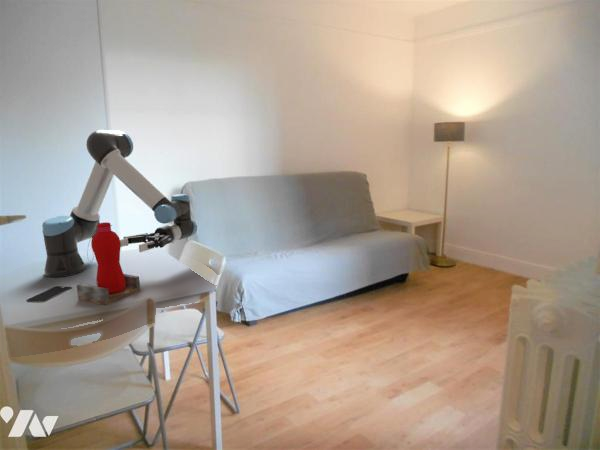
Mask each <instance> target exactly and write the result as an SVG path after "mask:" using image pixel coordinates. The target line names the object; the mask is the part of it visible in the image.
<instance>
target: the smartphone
mask: <svg viewBox="0 0 600 450" xmlns="http://www.w3.org/2000/svg"><path fill="white" fill-rule="evenodd" d="M71 289H73V287H72V286H61V285H60V286H59V285H57V286H54V287H51V288H49V289H47V290H45V291H42V292H39V293H38V294H36V295H33V296H32V297H30V298H28V299H26V300H25V301H27V303H39V302H40V303H41V302H42V303H45V302H48V301H50V300H51V299H54V298H55V297H58V296H60V295H61V294H64V293H65V292H67V291H70V290H71Z"/></svg>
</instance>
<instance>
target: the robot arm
mask: <svg viewBox="0 0 600 450" xmlns="http://www.w3.org/2000/svg"><path fill="white" fill-rule="evenodd" d="M86 149H87V150H86V151H87V152H88V154H89V155H90V157H91V158H92V159H93V160H94V161H95V162H94V165H93V167H92V169H91V172H90V175H89V177H88V180H87V183H86V185H85V188H84V190H83V192H82V194H81V198H80V199H79V202H78V204H77V206H75V207H73V208H72V210H71V212H70V214H69V215H58V216H56V217H50V218H48V219H46V220H44V221H43V223H42V235H43V242H44V246H45V251H46V261H45V264H44V270H43V271H44V276H45V277H49V278H61V277H68V276H72V275H75V274H79V273H81V272H83V271H84V270H85V269H86V265H85V262H84V259H82V256H81V255H80V253H79V250H78V243H81V242H83V241H86V240H89V239H90V240H91V238H92V236H93V235H94V234H95V233H96V232H97V231H96V230H97V225H98V224H100V223H101V222H100V218H101V216H100V214H99V212H100V208H101V207H102V204H103V202H104V199H105V197H106V194H107V192H108V189H109V187H110V185H111V182H112V180H113V177H116V178H117V179H118V180H119V181H121V182H122V184H123V185H125V186H126V188H128V189H129V190H130V191H131V192H132V193H133V194H134V195H135V196H137V197H138V198H139V199H140V200H141V201H142V202H143V203H144V204H145V205H146V206H147V207H148V208H149V209H151V211H153V212H154V213H153V215H154V218H155V220H156V221H157V222H158V223H160V224H162V226H160V227H157V228H156V229H155V230H154V232H150V233H148V232H146V233H140V234H134V235H128V236H123V238H121V239H120V243H121V247H120V248H122V247H128V246H129V245H131V244H138V243H141V244H138V251H139V253H144V252H146V251H149V250H153V249H155V248H156V249H158V248H161V249H162V248H164V247H165V246H166V245H168V244H174V243H175V242H177V241H180V240H183V239H186V238H187V239H188V238H190V237H192V236H194V235H195V234H196V233H197V230H198V225H197V224H196V222H195V220H193V219H192V217H191V215H192V214H191V202H190V196H189V194H186V193H177V194H172V195H171V201H170V200H169V198H167V197H166V196H165V195H164V194H163V193H162V192H161V191H160V190H159V189H158V188H156V187H155V186H154V185H153V183H151V182H150V181H149V180H148V179H147V178H146V177H145V176H144V175H143V174H142V173H140V172H139V170H137V168H135V167H134V166H133V165H132V164H131V163H130V162H129V161H128V160H127V159H126V158H128V157H129V156H130V155H131V154H132V153H133V150H134V142H133V141H132V137H131V136H130V135H129V134H127V132H124V131H121V130H117V129H113V130H110V129H108V130H106V129H105V130H104V129H99V130H95V131H92V132H91V133H90V134H89V135H88V137H87V139H86ZM172 222H173V223H172ZM169 223H170V224H169ZM163 224H167V225H164V226H163Z"/></svg>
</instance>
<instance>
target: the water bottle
mask: <svg viewBox="0 0 600 450" xmlns="http://www.w3.org/2000/svg"><path fill="white" fill-rule="evenodd" d="M112 226H113V224H111V222H109V221H108V222H106V221H105V222H100V224H98V225H97V230H96V231H97V232H96V233H95V234H94V235H93V236H92V238H90V240H89V241H88V244H87V245H88V246H87V247H89V245H91V250H92V253H93V255H94V257H95V260H96V263H97V267H96V269H97V270H96V287H102V288H107V289H108V293H109V294H112V293H117V292H121V291H123V290H124V289H125V288H126V283H125V277H124V274H125V273H124V272H123V269H122V265H121V263H120V261H121V260H120V258H121V248H122V247H121V243H120V240H121V239H120V237H119V235H118V234H117V233H116V232H114V231H113V230H112ZM88 252H89V250H87V252H86V253H87V254H86V256H87V258H89V256H88V255H89V254H88ZM93 260H94V259H92V260H89V262H93Z"/></svg>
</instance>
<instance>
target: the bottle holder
mask: <svg viewBox="0 0 600 450" xmlns="http://www.w3.org/2000/svg"><path fill="white" fill-rule="evenodd" d="M123 274H124V277H125V283H126V288H125V289H124V290H123V291H121V292H117V293H112V294H109V293H108V289H107V288H102V287H97V285H96V286H95V285H90V284H84V283H78V284H76V291H77V299H78V300H79V301H83V302H88V303H94V304H98V305H101V306H102V305H103V306H109V305H111V304H113V303H115V302H118V301H120V300H123V299H125V298H126V297H129V296H131V295H133V294H136V293H138V292H140V291H141V283H140V276H138V275H132V274H127V273H123Z"/></svg>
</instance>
